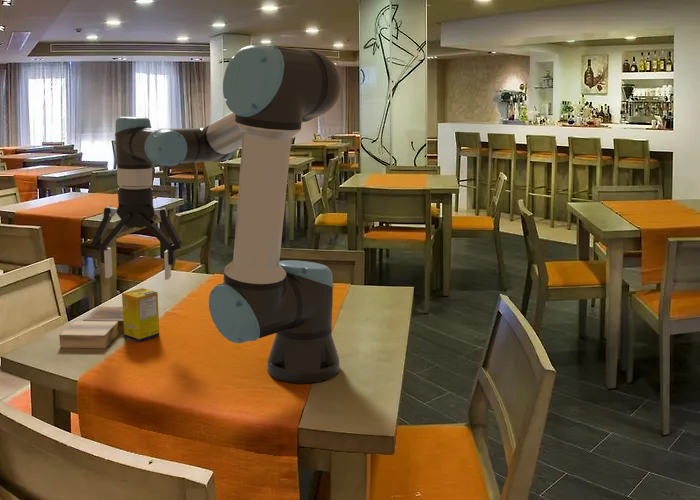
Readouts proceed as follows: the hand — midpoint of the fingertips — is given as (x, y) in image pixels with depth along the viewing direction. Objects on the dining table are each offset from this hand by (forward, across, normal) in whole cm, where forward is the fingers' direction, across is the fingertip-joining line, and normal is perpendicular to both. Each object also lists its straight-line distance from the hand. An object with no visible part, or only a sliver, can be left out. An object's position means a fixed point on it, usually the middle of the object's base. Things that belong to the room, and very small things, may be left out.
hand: (138, 277), depth 156 cm
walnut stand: (+14, +9, -8) cm, 18 cm away
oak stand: (+14, +11, +3) cm, 18 cm away
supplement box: (+15, 0, 0) cm, 15 cm away
